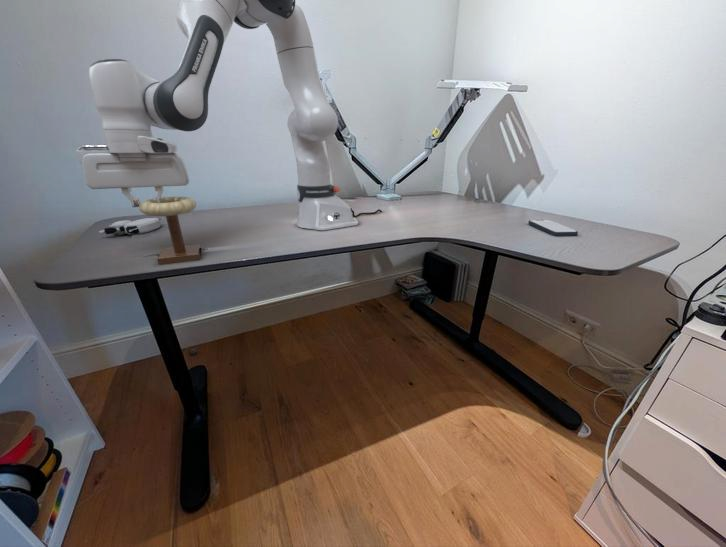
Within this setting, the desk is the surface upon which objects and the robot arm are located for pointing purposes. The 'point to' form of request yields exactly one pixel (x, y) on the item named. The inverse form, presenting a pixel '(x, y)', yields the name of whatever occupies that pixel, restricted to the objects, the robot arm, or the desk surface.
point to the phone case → (553, 228)
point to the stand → (178, 245)
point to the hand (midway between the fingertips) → (147, 206)
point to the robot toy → (133, 226)
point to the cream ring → (168, 206)
